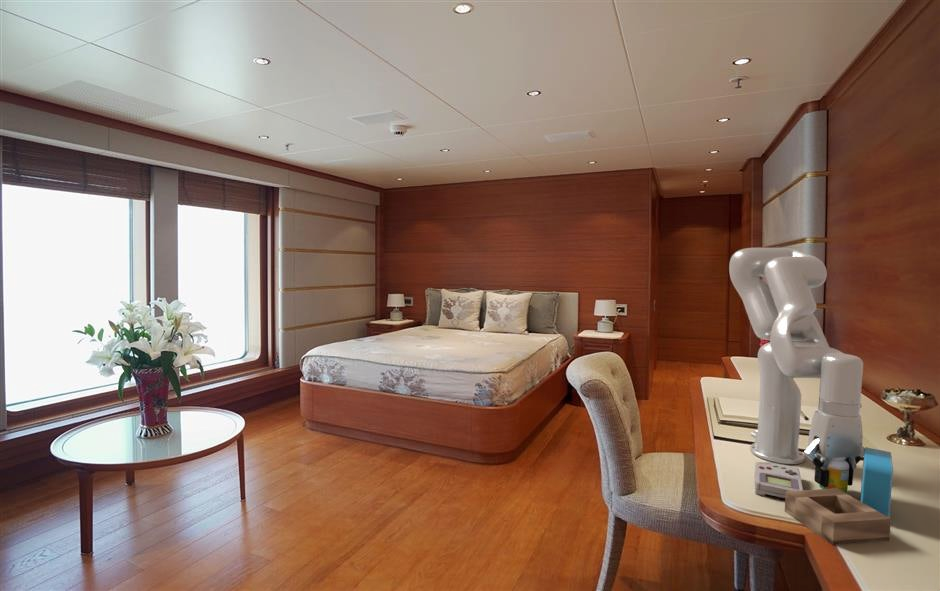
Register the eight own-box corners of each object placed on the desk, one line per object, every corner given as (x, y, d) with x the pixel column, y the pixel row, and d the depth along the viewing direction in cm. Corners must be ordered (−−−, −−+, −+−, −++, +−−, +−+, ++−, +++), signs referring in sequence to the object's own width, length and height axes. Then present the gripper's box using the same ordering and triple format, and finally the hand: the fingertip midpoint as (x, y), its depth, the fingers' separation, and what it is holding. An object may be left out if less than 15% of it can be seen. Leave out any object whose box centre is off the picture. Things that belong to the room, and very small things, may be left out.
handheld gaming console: (798, 465, 118) (804, 491, 106) (798, 479, 119) (803, 507, 106) (755, 457, 123) (755, 481, 110) (754, 471, 123) (754, 496, 111)
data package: (860, 495, 110) (864, 444, 109) (886, 502, 108) (890, 450, 106) (860, 517, 101) (864, 462, 100) (888, 525, 98) (893, 468, 97)
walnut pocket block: (784, 511, 103) (785, 491, 103) (835, 508, 105) (836, 488, 104) (832, 544, 91) (834, 522, 91) (889, 540, 93) (890, 518, 92)
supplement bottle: (812, 487, 114) (815, 447, 113) (829, 484, 116) (832, 445, 115) (835, 498, 109) (839, 456, 108) (852, 495, 111) (856, 454, 110)
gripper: (857, 401, 115) (851, 474, 117) (791, 403, 113) (786, 478, 115) (887, 411, 108) (881, 489, 109) (818, 414, 106) (812, 493, 107)
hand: (833, 482), depth 112 cm, fingers closed on supplement bottle, 5 cm apart
